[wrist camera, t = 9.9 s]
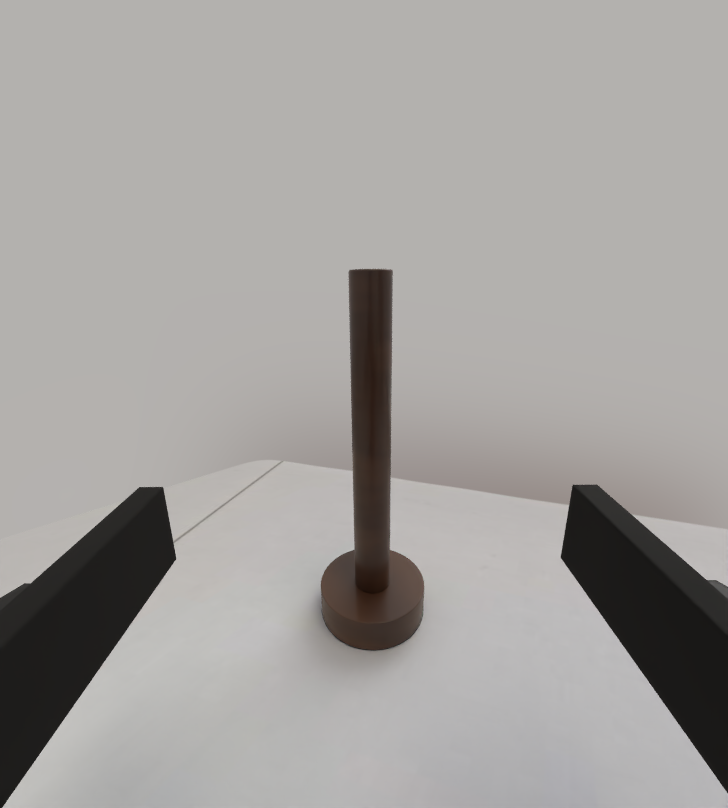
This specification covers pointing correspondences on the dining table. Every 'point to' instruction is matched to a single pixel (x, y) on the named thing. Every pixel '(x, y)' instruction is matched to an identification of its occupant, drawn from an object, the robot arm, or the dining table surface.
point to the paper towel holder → (371, 489)
